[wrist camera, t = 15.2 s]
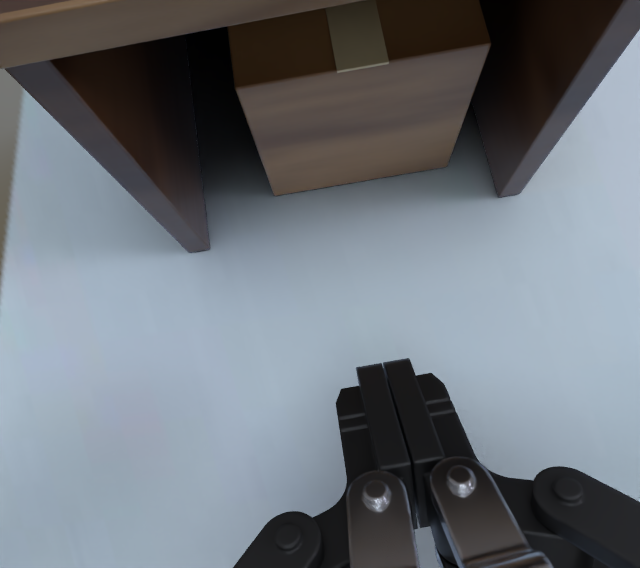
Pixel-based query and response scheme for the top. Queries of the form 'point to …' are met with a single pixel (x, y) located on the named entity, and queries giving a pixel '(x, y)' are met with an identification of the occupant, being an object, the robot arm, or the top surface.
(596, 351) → the top surface
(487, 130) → the cabinet
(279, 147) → the parcel box
